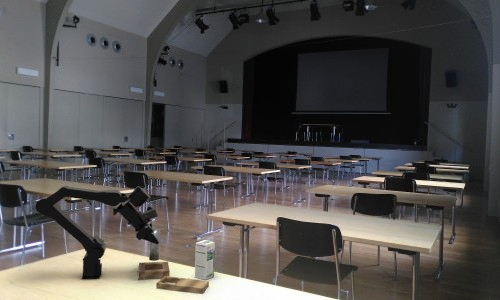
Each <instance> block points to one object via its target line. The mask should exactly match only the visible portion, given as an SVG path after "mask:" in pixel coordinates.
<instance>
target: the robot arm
mask: <svg viewBox="0 0 500 300" xmlns="http://www.w3.org/2000/svg"><path fill="white" fill-rule="evenodd" d="M64 198H71V199H78V200H86V201H87V200H88V201H95V202H99V203H101V204H103V205H106V206H110V207H113V208H112V211H113V212H112V216H115V215H117V214H119V215H120V216H121V218H123V219H124V220H125V221H126V222H127V225H130V226H131V227H132V228H133V229H134V231H135V233H136V234H135V238H136V239H137V240H138V241H141V240H144V241H146V242H149V243H150V242H152V243H154V244H158V243H159V241H158V240H157V238H156V237H155V236H154V234H153V233H152V229H153V222H152V219H155V218H157V217H158V216H159V214H158V211H157V209H156V207H152V206H151V205H150V206H149V205H148V206H147V207H146V210H145V211H143V212H141V211H140V210H137V208H138V207H139V208H141V207H142V206H143V205H144V204H145V203H146V202H147V201H149V200H150V199H151V196H150V194H148V192H147V191H146V190H145V189H143V188H142V187H141V186H139V185H138V186H136V188H135V189H134V190H133V191H132V192H131V193H124V192H121V191H120V190H118V189H103V190H96V189H95V190H94V189H88V188H80V187H75V186H68V185H63V186H61V187H60V188H59V189H58V190H57V191H55V192H53V193H52V194H51V195H46V196H43V197H42V198H40V199H39V200H37V201H36V203H35V211H36V212H37V213H39V214H41V215H42V216H44V217H45V218H48V219H51V220H53V221H54V222H55V223H57V224H58V225H59V226H60V227H61V228H63V230H64V231H66V232H67V233H68V234H69V235H70V236H72V237H73V238H74V239H75V240H76V241H78V242H79V243H80V245H82V247H83V249H84V251H85V252H86V253H85V254H84V256H83V257H82V276H81V280H93V279H100V278H101V276H102V274H103V263H102V262H101V258H103V256H104V255H105V252H106V249H107V246H106V243H105V240H104V239H102V238H101V237H100V236H99V235H98V234H96V235H95V236H92V235H91V234H89V233H88V232H86V231H85V229H83V228H82V227H81V226H80V225H78V224H77V222H75V221H74V220H73V219H72V218H71V217H69V216H68V215H67V214H66V213H65V212H64V210H62V208H61V207H60V204H59V202H60V201H62V200H63V199H64ZM149 222H150V223H149Z"/></svg>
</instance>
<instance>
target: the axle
mask: <svg viewBox="0 0 500 300" xmlns="http://www.w3.org/2000/svg"><path fill="white" fill-rule="evenodd" d="M152 233H153V234H154V236H155V237H156V238H157V240H158V241H159V243H158V244H154V243H152V242H149V250H148V251H149V252H148V253H149V254H148V260H149V261H151V262H158V261H159V260H160V246H161V244H160V243H161V229H159V228H155V229H154V228H152Z"/></svg>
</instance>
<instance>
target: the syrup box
mask: <svg viewBox="0 0 500 300" xmlns="http://www.w3.org/2000/svg"><path fill="white" fill-rule="evenodd" d="M194 248H195V252H194V254H195V255H194V256H195V257H194V259H195V260H194V262H195V263H194V278H197V279H198V280H204V281H208V279H211V278H213V277H215V256H216V255H215V252H216V251H215V249H216V242H215V241H214V240H208V239H203V240H201V241H197V242H195V247H194Z"/></svg>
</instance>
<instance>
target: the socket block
mask: <svg viewBox="0 0 500 300" xmlns="http://www.w3.org/2000/svg"><path fill="white" fill-rule="evenodd" d="M170 273H171V272H170V265H169V261H151V262H149V261H147V262H138V274H137V275H138V277H137V278H138V280H140V281H141V280H142V281H143V280H144V281H145V280H161V279H162V278H163V277H164V276H169V277H170Z"/></svg>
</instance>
